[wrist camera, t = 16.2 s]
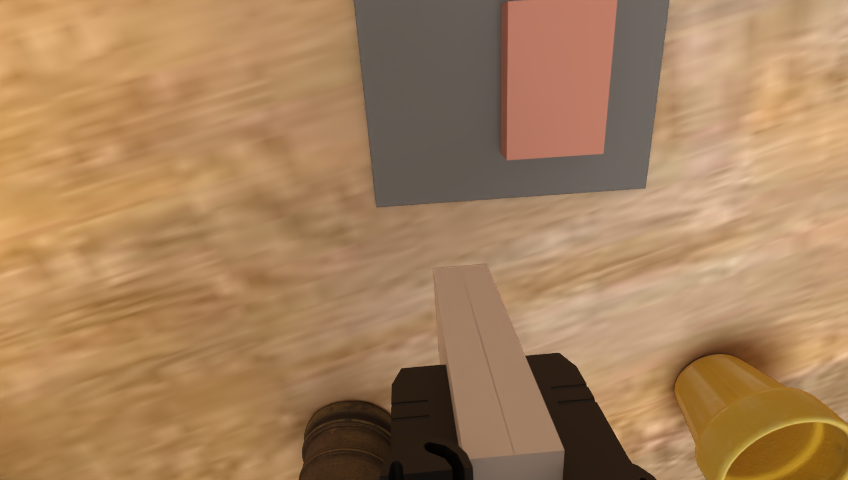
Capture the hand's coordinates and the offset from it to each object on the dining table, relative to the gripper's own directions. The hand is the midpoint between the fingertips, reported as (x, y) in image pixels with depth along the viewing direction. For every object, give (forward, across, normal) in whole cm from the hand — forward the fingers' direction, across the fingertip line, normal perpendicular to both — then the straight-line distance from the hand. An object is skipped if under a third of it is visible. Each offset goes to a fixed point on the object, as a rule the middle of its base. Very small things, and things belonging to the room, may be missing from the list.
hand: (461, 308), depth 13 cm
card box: (+20, +6, +4) cm, 21 cm away
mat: (+22, +6, +4) cm, 23 cm away
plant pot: (+22, +25, -23) cm, 40 cm away
